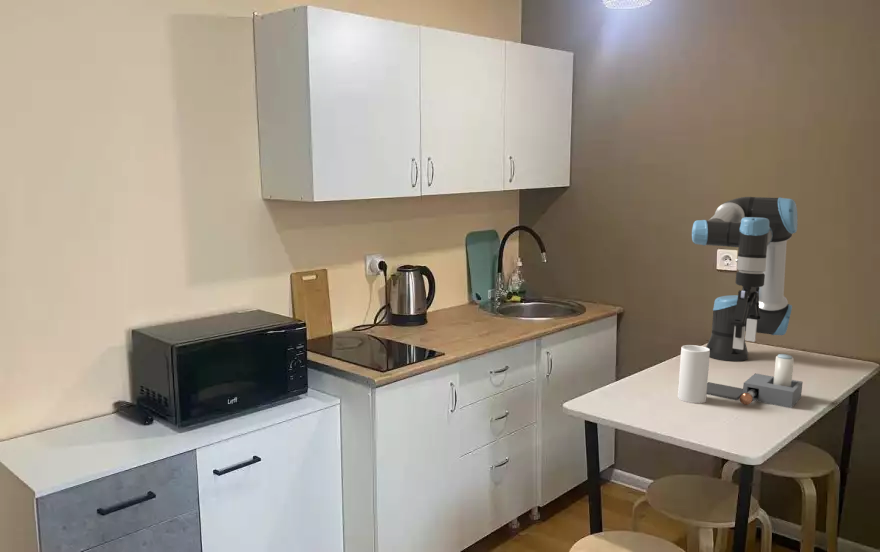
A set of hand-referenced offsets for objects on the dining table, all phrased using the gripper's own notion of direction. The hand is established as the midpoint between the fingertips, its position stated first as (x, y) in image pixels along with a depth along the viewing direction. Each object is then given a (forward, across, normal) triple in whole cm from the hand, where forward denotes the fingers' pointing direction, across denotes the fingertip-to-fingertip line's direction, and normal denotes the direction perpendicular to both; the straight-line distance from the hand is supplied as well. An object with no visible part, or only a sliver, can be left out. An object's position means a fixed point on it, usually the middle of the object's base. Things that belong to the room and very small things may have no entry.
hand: (744, 344), depth 208 cm
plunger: (+19, -11, 0) cm, 22 cm away
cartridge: (+20, -22, +7) cm, 31 cm away
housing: (+20, -21, +5) cm, 29 cm away
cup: (+20, -3, -14) cm, 25 cm away
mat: (+20, -17, -9) cm, 28 cm away
